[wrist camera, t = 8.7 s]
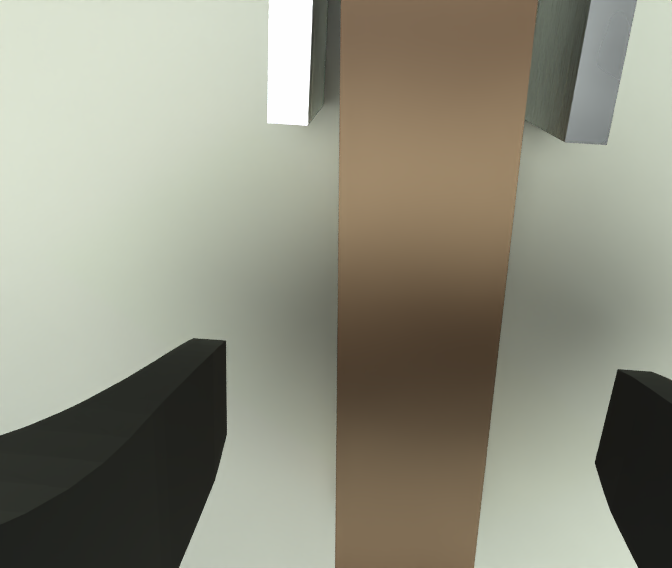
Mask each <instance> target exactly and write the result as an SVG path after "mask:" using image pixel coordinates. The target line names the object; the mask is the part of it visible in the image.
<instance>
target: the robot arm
mask: <svg viewBox="0 0 672 568" xmlns="http://www.w3.org/2000/svg"><path fill="white" fill-rule="evenodd" d="M226 435H227V403H226V341H223V340H210V339H196V338H193V339H191V340H189V341H187V342H185V343H184V344H182V345H180V346H178V347H177V348H175V349H173V350H172V351H170V352H169V353H167V354H165V355H164V356H162V357H161V358H159V359H157V360H156V361H154V362H152V363H151V364H149V365H148V366H146V367H144V368H143V369H141V370H139V371H138V372H136V373H134V374H133V375H131V376H129V377H128V378H126V379H124V380H122V381H120V382H119V383H117V384H115V385H113V386H111V387H109V388H108V389H106V390H104V391H102V392H100V393H98V394H96V395H95V396H93V397H91V398H89V399H87V400H85V401H83V402H81V403H79V404H77V405H75V406H73V407H71V408H69V409H67V410H64V411H62V412H60V413H58V414H55V415H53V416H51V417H48V418H46V419H43V420H41V421H39V422H36V423H34V424H31V425H29V426H26V427H24V428H21V429H18V430H15V431H12V432H9V433H6V434H3V435H1V436H0V568H179V566H180V564H181V561H182V559H183V557H184V554H185V552H186V549H187V547H188V545H189V542H190V540H191V537H192V535H193V532H194V530H195V528H196V525H197V523H198V520H199V518H200V516H201V513H202V511H203V508H204V506H205V503H206V501H207V498H208V496H209V494H210V491H211V489H212V486H213V484H214V481H215V478H216V474H217V470H218V467H219V463H220V459H221V455H222V451H223V447H224V443H225V439H226ZM595 465H596V468H597V472H598V475H599V478H600V482H601V485H602V488H603V491H604V494H605V497H606V500H607V503H608V506H609V508H610V511H611V513H612V515H613V518H614V520H615V522H616V524H617V526H618V528H619V530H620V532H621V534H622V536H623V538H624V540H625V542H626V544H627V546H628V548H629V550H630V552H631V554H632V556H633V558H634V560H635V562H636V564H637V566H638V568H672V380H670V379H668V378H665V377H663V376H661V375H658V374H656V373H653V372H647V371H633V370H619V369H618V370H617V374H616V378H615V382H614V386H613V390H612V395H611V399H610V403H609V407H608V411H607V415H606V419H605V423H604V427H603V431H602V435H601V440H600V444H599V448H598V452H597V456H596V460H595Z"/></svg>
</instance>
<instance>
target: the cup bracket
mask: <svg viewBox="0 0 672 568" xmlns="http://www.w3.org/2000/svg"><path fill="white" fill-rule="evenodd" d="M636 2H637V0H539V6H538V12H537V19H536V25H535V31H534V40H533V49H532V58H531V67H530V75H529V84H528V93H527V102H526V111H525V120H526V121H528V122H529V123H531V124H533V125H535V126H537V127H538V128H540V129H542V130H544V131H546V132H547V133H549V134H551V135H553V136H555V137H556V138H558V139H560V140H562V141H564V142H570V143H586V144H601V145H607V141H608V136H609V131H610V127H611V122H612V117H613V112H614V107H615V103H616V98H617V93H618V88H619V84H620V79H621V74H622V69H623V64H624V60H625V55H626V50H627V45H628V40H629V36H630V31H631V26H632V21H633V17H634V12H635V7H636ZM327 16H328V0H269V45H268V109H267V123H276V124H291V125H307V126H308V125H309V123H310V122H311V121H312V119H313V118H314V117H315V115H316V114H317V113H318V112H319V110H320V109H321V108H322V106H323V102H324V81H325V59H326V38H327Z"/></svg>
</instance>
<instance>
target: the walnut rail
mask: <svg viewBox="0 0 672 568" xmlns="http://www.w3.org/2000/svg"><path fill="white" fill-rule="evenodd" d="M537 5H538V0H341V31H340V132H339V233H338V334H337V434H336V535H335V568H474V562H475V553H476V544H477V535H478V526H479V518H480V509H481V500H482V491H483V482H484V473H485V465H486V456H487V447H488V438H489V429H490V420H491V412H492V403H493V394H494V385H495V376H496V367H497V358H498V350H499V341H500V332H501V323H502V314H503V305H504V297H505V288H506V279H507V270H508V261H509V252H510V244H511V235H512V226H513V217H514V208H515V199H516V190H517V182H518V173H519V164H520V155H521V146H522V137H523V129H524V120H525V111H526V102H527V93H528V84H529V75H530V67H531V58H532V49H533V40H534V31H535V22H536V14H537Z"/></svg>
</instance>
